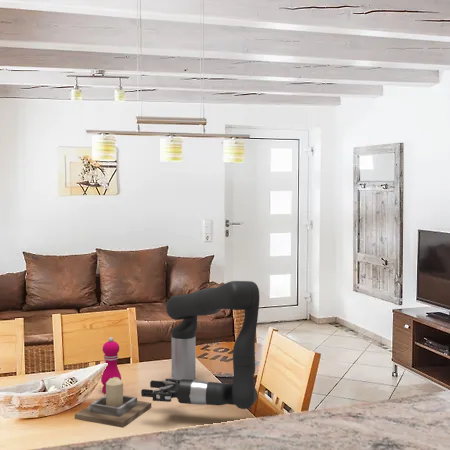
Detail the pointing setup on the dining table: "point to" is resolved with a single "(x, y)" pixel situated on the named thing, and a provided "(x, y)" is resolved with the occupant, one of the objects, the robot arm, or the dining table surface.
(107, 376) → the pepper mill
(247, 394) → the robot arm
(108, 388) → the candle
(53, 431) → the dining table surface
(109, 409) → the board
